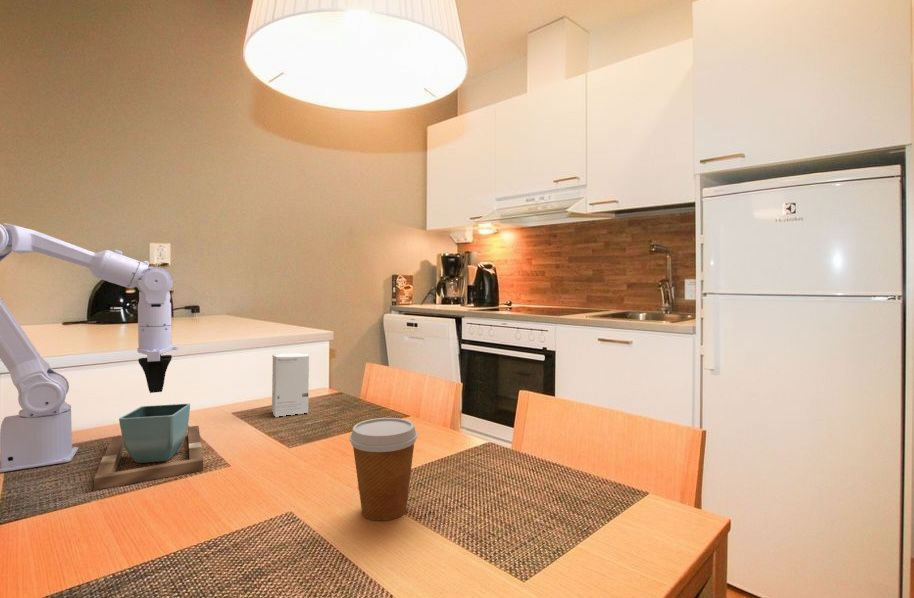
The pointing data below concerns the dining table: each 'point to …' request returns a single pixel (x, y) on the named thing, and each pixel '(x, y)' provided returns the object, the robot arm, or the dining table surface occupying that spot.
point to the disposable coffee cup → (383, 465)
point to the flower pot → (155, 431)
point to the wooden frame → (110, 461)
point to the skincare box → (290, 384)
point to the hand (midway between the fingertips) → (156, 391)
